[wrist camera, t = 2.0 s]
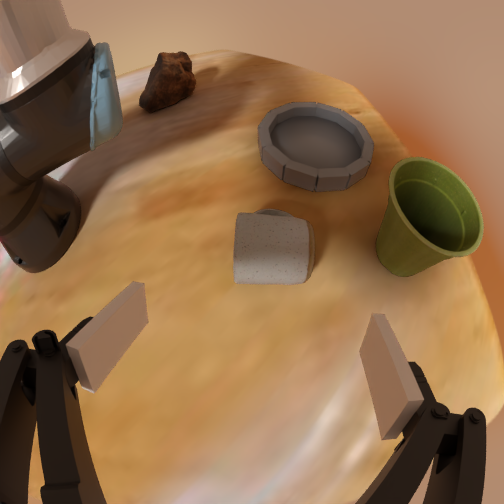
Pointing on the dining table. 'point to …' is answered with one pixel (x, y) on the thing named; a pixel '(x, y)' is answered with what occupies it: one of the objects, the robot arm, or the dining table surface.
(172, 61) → the decorative rock
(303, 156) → the round tray
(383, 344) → the robot arm
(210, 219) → the dining table surface
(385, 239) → the plant pot
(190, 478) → the dining table surface
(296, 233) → the ceramic mug
